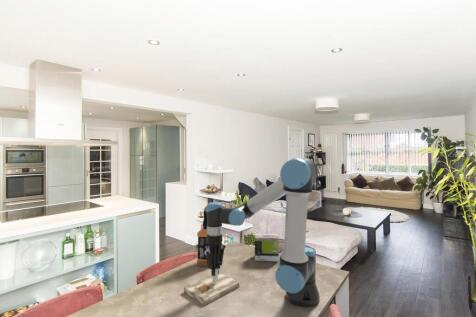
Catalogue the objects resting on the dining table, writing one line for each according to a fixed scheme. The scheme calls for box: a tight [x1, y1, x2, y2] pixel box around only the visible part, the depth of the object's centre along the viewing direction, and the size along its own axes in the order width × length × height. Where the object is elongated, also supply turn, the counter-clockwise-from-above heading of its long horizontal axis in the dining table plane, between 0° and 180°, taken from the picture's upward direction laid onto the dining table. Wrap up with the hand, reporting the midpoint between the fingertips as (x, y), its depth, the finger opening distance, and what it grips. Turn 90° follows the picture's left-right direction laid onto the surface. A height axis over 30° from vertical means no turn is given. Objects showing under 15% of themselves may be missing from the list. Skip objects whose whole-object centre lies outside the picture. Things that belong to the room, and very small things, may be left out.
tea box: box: [254, 233, 280, 262], centre depth 166 cm, size 15×10×15 cm, turn 84°
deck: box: [183, 272, 240, 306], centre depth 127 cm, size 16×22×2 cm
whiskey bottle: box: [196, 210, 210, 268], centre depth 158 cm, size 10×10×32 cm
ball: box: [199, 285, 207, 292], centre depth 124 cm, size 4×4×4 cm
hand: (215, 281), depth 128 cm, fingers closed
